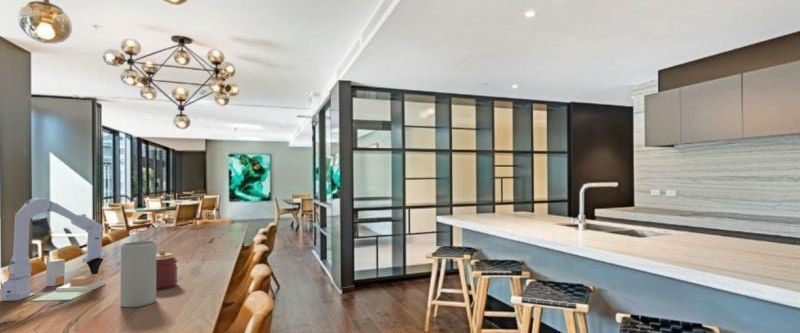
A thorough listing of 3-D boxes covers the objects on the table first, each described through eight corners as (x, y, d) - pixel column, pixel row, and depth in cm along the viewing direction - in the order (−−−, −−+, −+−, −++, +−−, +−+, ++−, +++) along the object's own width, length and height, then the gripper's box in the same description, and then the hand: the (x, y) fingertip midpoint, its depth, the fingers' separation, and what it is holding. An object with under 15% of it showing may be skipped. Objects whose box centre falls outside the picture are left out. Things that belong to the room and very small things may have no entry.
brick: (85, 285, 190) (86, 278, 190) (70, 285, 190) (70, 279, 190) (94, 282, 196) (94, 275, 196) (79, 282, 196) (79, 276, 196)
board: (88, 291, 187) (88, 287, 187) (56, 292, 186) (56, 288, 186) (105, 284, 199) (105, 280, 199) (75, 285, 198) (75, 281, 198)
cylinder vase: (138, 309, 162) (139, 246, 162) (112, 307, 164) (113, 245, 165) (163, 299, 174) (163, 241, 174) (138, 298, 176) (138, 240, 177)
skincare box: (54, 286, 197) (54, 261, 197) (45, 286, 197) (46, 261, 197) (65, 282, 203) (65, 258, 203) (56, 282, 203) (56, 258, 203)
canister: (183, 283, 201) (183, 247, 201) (165, 290, 188) (165, 252, 188) (158, 282, 202) (159, 247, 202) (139, 290, 189) (139, 252, 189)
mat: (70, 300, 174) (70, 299, 174) (30, 301, 173) (30, 300, 173) (91, 291, 187) (91, 290, 187) (54, 292, 186) (54, 291, 186)
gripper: (93, 249, 195) (93, 277, 195) (112, 243, 209) (112, 270, 209) (77, 249, 194) (77, 277, 194) (97, 244, 209) (97, 270, 209)
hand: (94, 274), depth 202 cm, fingers closed
